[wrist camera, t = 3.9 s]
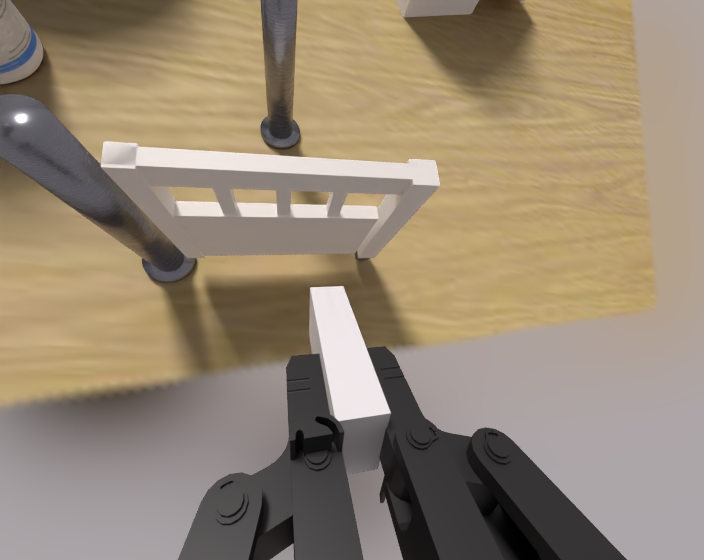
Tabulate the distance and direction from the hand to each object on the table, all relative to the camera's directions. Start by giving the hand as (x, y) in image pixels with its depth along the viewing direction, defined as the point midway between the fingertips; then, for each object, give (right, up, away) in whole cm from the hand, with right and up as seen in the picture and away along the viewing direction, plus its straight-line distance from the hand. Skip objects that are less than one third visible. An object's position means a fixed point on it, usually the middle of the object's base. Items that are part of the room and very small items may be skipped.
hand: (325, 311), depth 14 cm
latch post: (-8, +21, +26) cm, 34 cm away
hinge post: (-19, +4, +18) cm, 26 cm away
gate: (-6, +4, +21) cm, 22 cm away
